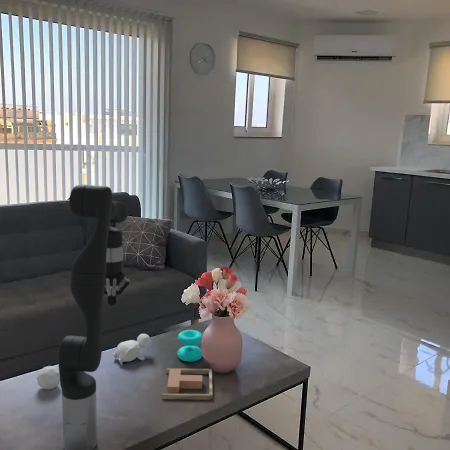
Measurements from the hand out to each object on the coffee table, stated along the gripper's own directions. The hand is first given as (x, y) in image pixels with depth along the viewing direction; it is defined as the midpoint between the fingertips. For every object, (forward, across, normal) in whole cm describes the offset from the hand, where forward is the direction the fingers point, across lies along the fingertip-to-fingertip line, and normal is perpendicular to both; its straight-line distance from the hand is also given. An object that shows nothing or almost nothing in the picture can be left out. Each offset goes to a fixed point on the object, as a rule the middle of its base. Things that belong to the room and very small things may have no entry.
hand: (112, 304), depth 174 cm
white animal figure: (+27, +6, +12) cm, 31 cm away
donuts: (+27, +28, +14) cm, 42 cm away
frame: (+27, +28, -7) cm, 40 cm away
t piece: (+27, +27, -7) cm, 39 cm away
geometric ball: (+27, -20, -10) cm, 35 cm away
